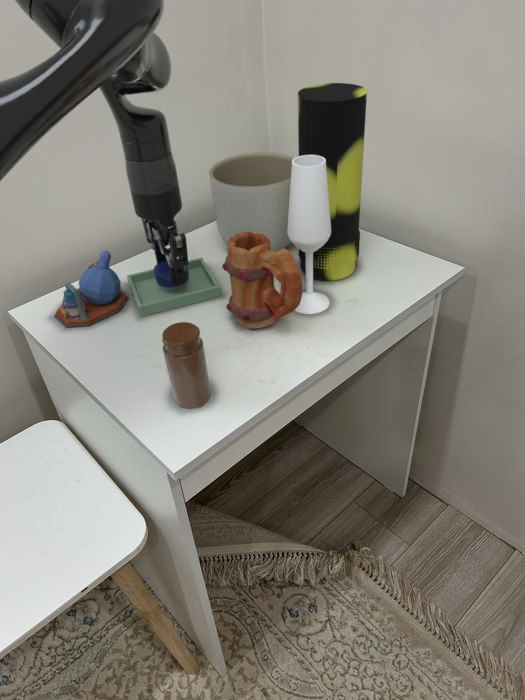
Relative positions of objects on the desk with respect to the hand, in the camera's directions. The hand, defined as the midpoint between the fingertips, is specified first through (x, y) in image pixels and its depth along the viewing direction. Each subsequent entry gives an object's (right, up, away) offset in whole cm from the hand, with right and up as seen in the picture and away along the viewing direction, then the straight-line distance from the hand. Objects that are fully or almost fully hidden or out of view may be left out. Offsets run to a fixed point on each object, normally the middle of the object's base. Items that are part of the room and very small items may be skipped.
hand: (171, 275), depth 95 cm
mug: (+16, -9, -8) cm, 20 cm away
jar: (+6, -19, -19) cm, 28 cm away
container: (+28, +2, +5) cm, 29 cm away
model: (-14, -6, -1) cm, 15 cm away
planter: (+15, +8, +14) cm, 22 cm away
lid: (0, +1, -1) cm, 1 cm away
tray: (0, -2, +2) cm, 3 cm away
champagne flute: (+24, -5, -3) cm, 25 cm away
